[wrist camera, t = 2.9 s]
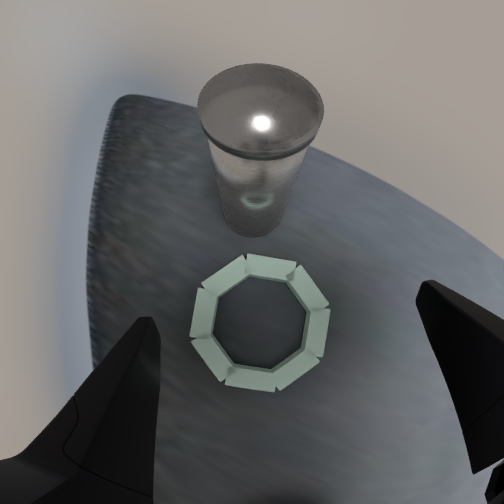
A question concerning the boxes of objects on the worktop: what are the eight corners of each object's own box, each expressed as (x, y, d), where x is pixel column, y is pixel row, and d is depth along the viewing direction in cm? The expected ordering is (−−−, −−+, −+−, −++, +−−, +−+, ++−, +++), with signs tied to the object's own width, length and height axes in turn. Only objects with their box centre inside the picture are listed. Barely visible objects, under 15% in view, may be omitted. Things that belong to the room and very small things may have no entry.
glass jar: (297, 216, 23) (348, 117, 10) (244, 252, 22) (245, 174, 10) (259, 169, 24) (272, 52, 11) (208, 201, 23) (176, 92, 10)
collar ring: (345, 334, 21) (351, 335, 20) (245, 406, 20) (245, 413, 18) (274, 236, 23) (276, 231, 21) (172, 306, 21) (167, 306, 20)
